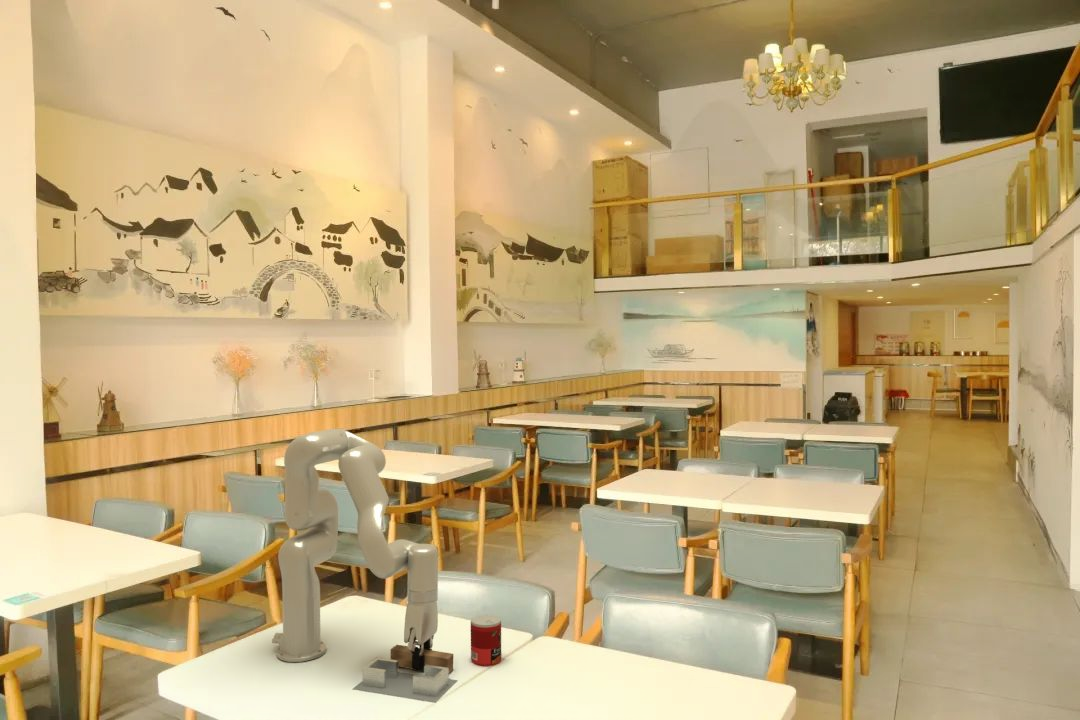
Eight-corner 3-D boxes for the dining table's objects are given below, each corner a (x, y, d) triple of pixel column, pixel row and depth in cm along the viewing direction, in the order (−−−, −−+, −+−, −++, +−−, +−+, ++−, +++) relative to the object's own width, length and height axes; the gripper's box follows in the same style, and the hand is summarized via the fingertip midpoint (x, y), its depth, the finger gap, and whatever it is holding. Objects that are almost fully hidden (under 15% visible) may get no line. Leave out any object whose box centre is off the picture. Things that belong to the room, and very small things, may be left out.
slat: (390, 664, 188) (390, 649, 188) (396, 659, 191) (397, 644, 191) (447, 674, 183) (447, 658, 183) (453, 669, 186) (453, 653, 186)
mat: (351, 690, 176) (351, 689, 176) (378, 669, 187) (378, 668, 187) (435, 704, 169) (435, 702, 169) (457, 681, 180) (457, 680, 180)
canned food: (497, 669, 187) (497, 625, 187) (467, 666, 189) (466, 623, 189) (504, 656, 195) (504, 615, 195) (475, 654, 197) (475, 613, 196)
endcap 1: (362, 684, 178) (362, 668, 178) (376, 673, 184) (376, 657, 184) (384, 688, 176) (384, 671, 176) (398, 676, 182) (398, 660, 182)
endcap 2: (448, 684, 178) (448, 667, 178) (436, 696, 172) (436, 679, 172) (426, 681, 180) (426, 664, 180) (413, 693, 174) (412, 676, 174)
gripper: (424, 583, 196) (423, 652, 196) (392, 603, 180) (392, 678, 181) (450, 586, 194) (449, 656, 194) (420, 607, 178) (419, 683, 178)
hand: (421, 666), depth 187 cm, fingers closed on slat, 3 cm apart
